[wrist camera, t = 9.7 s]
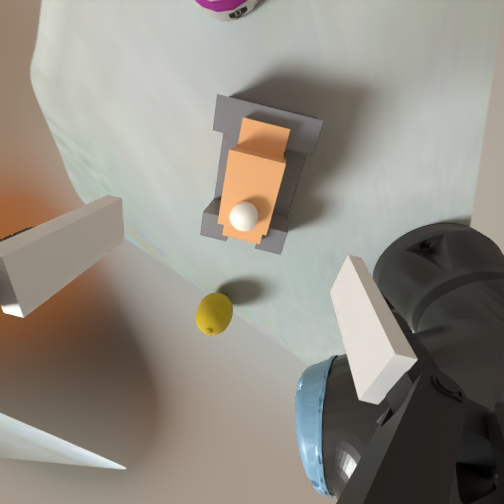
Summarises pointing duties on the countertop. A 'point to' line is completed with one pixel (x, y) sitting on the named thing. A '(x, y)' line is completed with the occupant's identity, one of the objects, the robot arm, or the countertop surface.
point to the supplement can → (226, 8)
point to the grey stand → (297, 147)
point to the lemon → (214, 313)
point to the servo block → (253, 180)
